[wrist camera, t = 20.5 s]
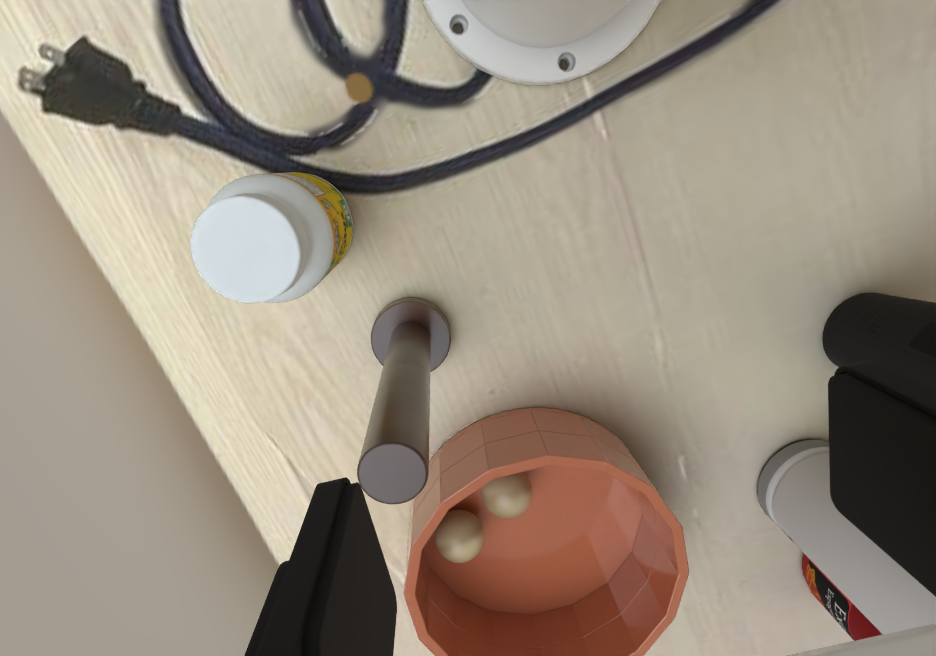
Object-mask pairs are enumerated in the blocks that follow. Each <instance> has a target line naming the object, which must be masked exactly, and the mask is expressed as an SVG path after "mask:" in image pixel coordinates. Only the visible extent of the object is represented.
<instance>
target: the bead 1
mask: <svg viewBox="0 0 936 656" xmlns="http://www.w3.org/2000/svg"><path fill="white" fill-rule="evenodd" d="M434 540H435V545H436V547H437V550H438V551H439V553H440V554H441V555H442V556H443V557H444V558H445V559H447V560H449V561H451V562H454V563H464V562H467V561H470V560H472V559H473V558H474V557H476V556H477V555H478V553H479V552H480V550H481V548H482V546H483V543H484V529H483V526H482V524H481V522H480V520H479V519H478V518H477V517H476V516H475V515H474V514H473V513H471V512H469V511H466V510H461V509H457V510H452V511H450V512H448V513H446V515H445V516H444V518H443V519H442V521H441V522H440V524H439V525H438V527H437V528H436V530H435V533H434Z"/></svg>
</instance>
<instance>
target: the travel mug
mask: <svg viewBox="0 0 936 656" xmlns="http://www.w3.org/2000/svg"><path fill="white" fill-rule="evenodd" d="M757 494H758V500H759V503H760V505H761V508H762V509H763V510H764V512H765V513H766V514H767V515H768V516H769V517H770V518H771V519H772V521H773V522H774V523H775V524H776V525H777V526H779V527H780V528H781V530H782V531H783V532H784V533H785V534H786V535H787V536H788V537H789V538H790V539H791V540H792V541H793V542H794V543H795V544H796V545H797V546H798V547H799V548H800V549H801V551H802V552H803V553H804V554H805V555H806V556H807V557H808V558H809V559H810V560H811V561H812V562H813V563H814V564H815V565H816V566H817V567H818V568H819V569H820V570H821V571H822V572H823V573H824V574H825V575H826V576H827V577H828V578H829V579H830V580H831V582H832V583H833V584H834V585H835V586H836V587H837V588H838V589H839V590H840V591H841V592H842V593H843V594H844V595H845V596H846V597H847V598H848V599H849V600H850V601H851V602H852V603H853V604H854V605H855V606H856V607H857V608H858V609H859V610H860V611H861V613H862V614H863V615H864V616H865V617H866V618H867V619H868V620H869V621H870V622H871V623H872V624H873V625H874V626H875V627H876V628H877V629H878V630H879V631H880V632H881V633H882V634H883V635H884V634H889V633H893V632H898V631H903V630H907V629H912V628H917V627H922V626H926V625H931V624H936V597H935V596H934V595H933V594H932V593H931V592H930V591H928V590H927V589H926V588H925V587H924V586H923V585H922V584H920V583H919V582H918V581H917V580H916V579H915V578H914V577H912V576H911V575H910V574H909V573H908V572H907V571H906V570H904V569H903V568H902V567H901V566H900V565H899V564H898V563H896V562H895V561H894V560H893V559H892V558H891V557H890V556H889V555H887V554H886V553H885V552H884V551H883V550H882V549H881V548H879V547H878V546H877V545H876V544H875V543H874V542H873V541H871V540H870V539H869V538H868V537H867V536H866V535H865V534H863V533H862V532H861V531H860V530H859V529H858V528H857V527H855V526H854V525H853V524H852V523H851V522H850V521H849V520H847V519H846V518H845V517H844V516H843V515H842V514H841V513H840V512H839V511H838V510H837V509H836V507H835V506H834V504H833V502H832V499H831V496H830V467H829V442H827V441H823V440H805V441H800V442H797V443H794V444H791V445H789V446H787V447H785V448H784V449H782V450H781V451H779V452H778V453H776V454H775V455H774V456H773V457H772V458H771V459H770V460H769V462H768V463H767V464H766V466H765V467H764V469H763V471H762V473H761V475H760V478H759V482H758V491H757Z"/></svg>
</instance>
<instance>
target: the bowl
mask: <svg viewBox="0 0 936 656" xmlns="http://www.w3.org/2000/svg"><path fill="white" fill-rule="evenodd" d="M519 472H524V473H525V474H526V475H527V477H528V478H529V480H530V482H531V485H532V500H531V503H530V505H529V507H528V508H527V510H526V511H525V512H524V513H523V514H521V515H520V516H518V517H515V518H511V519H504V518H500V517H497V516H495V515H494V514H492V513H491V512H490V511H489V510H488V509H487V508H486V506H485V504H484V502H483V500H482V495H481V488H482V486H484V485H485V484H487V483H488V482H490V481H491V480H493V479H495V478H499V477H503V476H507V475H511V474H515V473H519ZM457 509H461V510H466V511H469V512H471V513H473V514H474V515H475V516H476V517H477V518H478V519H479V520H480V522H481V524H482V526H483V529H484V543H483V546H482V548H481V550H480V552H479V553H478V555H477V556H476V557H474V558H473V559H472V560H470V561H467V562H464V563H454V562H451V561H449V560H447V559H445V558H444V557H443V556H442V555H441V554H440V553H439V551H438V550H437V547H436V545H435V540H434V533H435V530H436V528H437V527H438V525H439V524H440V522H441V521H442V519H443V518H444V516H445V515H446V513H448V512H450V511H452V510H457ZM688 575H689V568H688V561H687V555H686V548H685V541H684V535H683V528H682V525H681V524H680V522H679V521H678V519H677V518H676V517H675V515H674V514H673V512H672V511H671V509H670V508H669V507H668V505H667V504H666V502H665V501H664V499H663V498H662V497H661V495H660V494H659V492H658V491H657V489H656V488H655V487H654V485H653V484H652V482H651V481H650V479H649V478H648V477H647V475H646V474H645V472H644V471H643V470H642V468H641V467H640V465H639V464H638V463H637V461H636V460H635V458H634V457H633V456H632V454H631V453H630V451H629V450H628V449H627V447H626V446H625V445H624V443H623V442H622V440H621V439H620V438H618V437H617V436H615V435H614V434H612V433H611V432H610V431H609V430H607V429H606V428H604V427H603V426H601V425H600V424H598V423H596V422H594V421H592V420H590V419H588V418H586V417H584V416H581V415H578V414H575V413H572V412H568V411H563V410H558V409H551V408H523V409H516V410H510V411H505V412H501V413H498V414H495V415H492V416H489V417H486V418H484V419H482V420H480V421H477V422H475V423H473V424H471V425H470V426H468V427H466V428H465V429H463V430H462V431H460V432H459V433H457V434H456V435H455V436H453V437H452V438H451V439H450V440H448V441H447V442H446V443H445V444H444V445H443V446H442V447H441V448H440V449H439V450H438V451H437V452H436V454H435V455H434V456H433V458H432V459H431V460H430V462H429V473H428V480H427V483H426V485H425V487H424V489H423V490H422V491H421V492H420V493H419V494H418V495H417V496H416V497H415V498H413V501H412V506H411V515H410V522H409V529H408V541H407V555H406V569H405V583H404V597H405V600H406V603H407V606H408V609H409V612H410V615H411V618H412V621H413V624H414V627H415V630H416V633H417V636H418V638H419V640H420V641H421V642H422V643H423V644H424V645H425V646H426V647H427V648H428V649H429V650H430V651H431V652H432V653H433V654H434V655H435V656H643V655H645V654H646V652H647V651H648V650H649V649H650V647H651V646H652V645H653V644H654V643H655V641H656V640H657V639H658V638H659V637H660V635H661V634H662V633H663V632H664V631H665V629H666V628H667V627H668V626H669V625H670V623H671V622H672V621H673V620H674V618H675V616H676V613H677V610H678V607H679V604H680V600H681V597H682V594H683V591H684V588H685V584H686V581H687V578H688Z"/></svg>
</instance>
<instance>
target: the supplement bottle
mask: <svg viewBox="0 0 936 656" xmlns="http://www.w3.org/2000/svg"><path fill="white" fill-rule="evenodd" d="M352 238H353V220H352V216H351V212H350V210H349V207H348V204H347V202H346V200H345V198H344V197H343V196H342V194H341V193H340V192H339V190H338V189H337V188H335V187H334V186H333V185H332V184H331V183H329V182H328V181H326V180H324V179H323V178H320V177H318V176H315V175H312V174H307V173H297V172H290V173H272V174H257V175H250V176H245V177H242V178H239V179H237V180H235V181H232V182H231V183H229V184H227V185H226V186H224V187H223V188H222V189H221V190H220V191H219V192H218V193H217V194H216V195H215V196H214V197H213V199H212V200H211V202H210V203H209V205H208V207H207V208H206V209H205V210H204V211H203V212H202V213H201V214H200V216H199V217H198V219H197V220H196V222H195V224H194V227H193V230H192V235H191V242H190V247H191V254H192V259H193V262H194V264H195V267H196V269H197V271H198V273H199V274H200V276H201V277H202V278H203V280H204V281H205V282H206V283H207V284H208V285H209V286H210V287H211V288H212V289H213V290H215V291H216V292H217V293H219V294H220V295H222V296H224V297H226V298H228V299H231V300H234V301H238V302H243V303H260V302H265V303H280V302H286V301H290V300H294V299H297V298H299V297H301V296H303V295H305V294H306V293H308V292H309V291H311V290H312V289H313V288H315V287H316V286H317V285H318V284H319V283H320V282H321V281H322V280H323V279H324V277H325V276H326V275H327V274H328V273H329V272H330V271H331V270H332V269H333V268H334V267H335V266H336V265H337V264H338V263H339V262H340V261H341V260H342V259H343V258H344V256H345V255H346V253H347V252H348V250H349V247H350V245H351V242H352Z"/></svg>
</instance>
